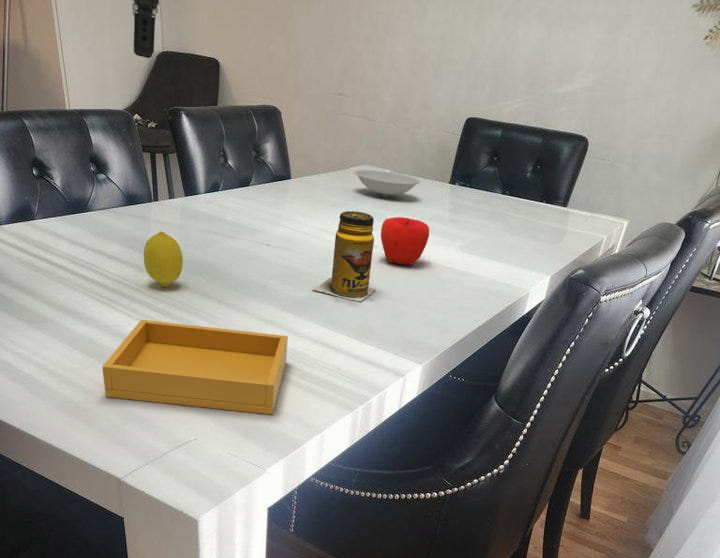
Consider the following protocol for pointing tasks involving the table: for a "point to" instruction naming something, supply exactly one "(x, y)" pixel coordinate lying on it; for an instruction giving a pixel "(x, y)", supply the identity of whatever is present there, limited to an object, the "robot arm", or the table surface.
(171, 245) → the lemon
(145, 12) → the robot arm
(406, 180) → the dish
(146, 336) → the yellow tray
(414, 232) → the apple
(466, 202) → the table surface
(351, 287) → the condiment
